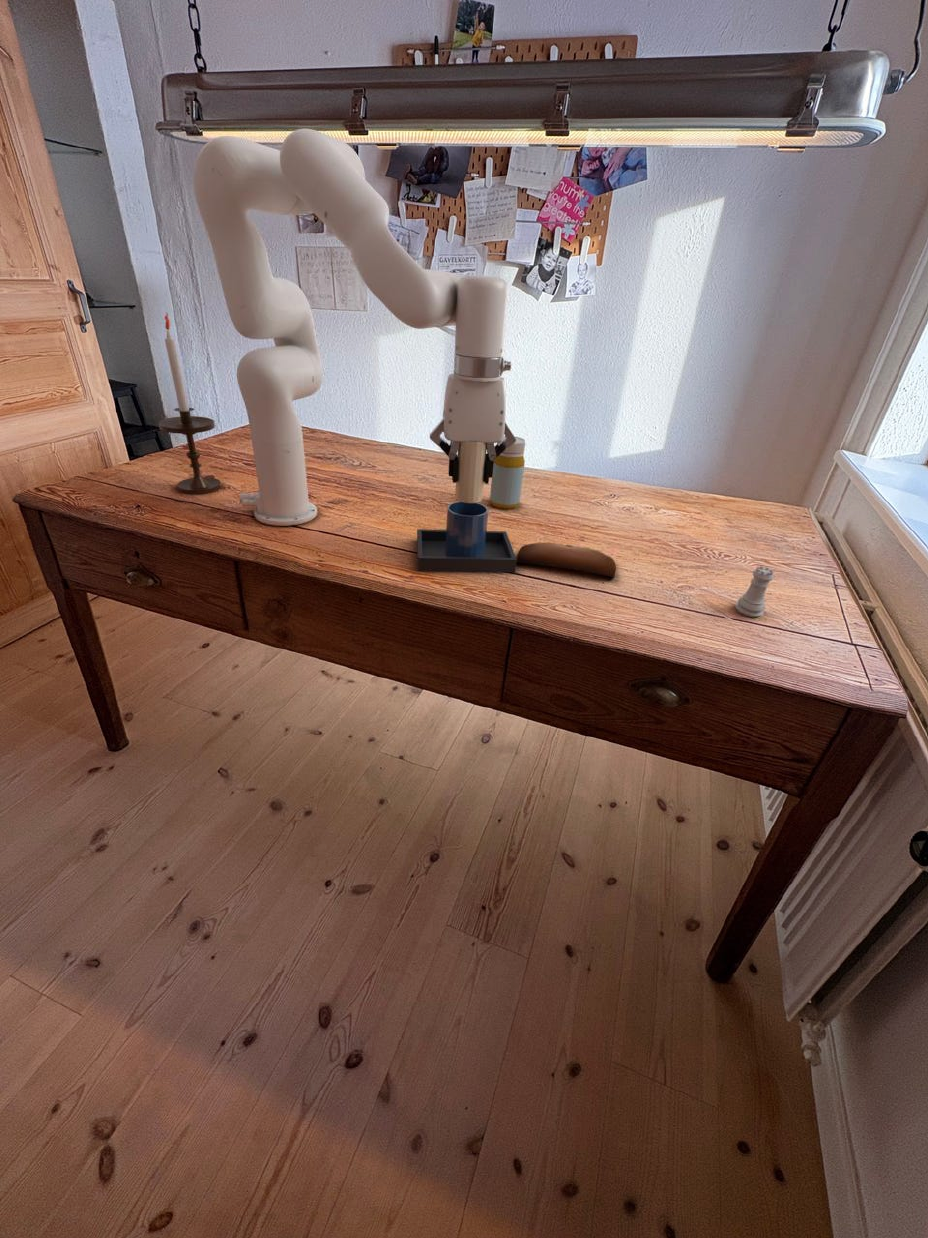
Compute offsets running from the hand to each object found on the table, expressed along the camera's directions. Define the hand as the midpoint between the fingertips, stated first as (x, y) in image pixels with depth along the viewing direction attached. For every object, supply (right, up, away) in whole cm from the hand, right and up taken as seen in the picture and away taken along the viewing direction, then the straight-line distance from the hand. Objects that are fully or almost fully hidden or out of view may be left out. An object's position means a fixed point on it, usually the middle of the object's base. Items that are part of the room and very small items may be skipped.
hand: (470, 479), depth 95 cm
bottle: (+8, +2, +33) cm, 34 cm away
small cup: (0, -3, +2) cm, 3 cm away
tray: (-1, -13, +8) cm, 15 cm away
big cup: (-1, -12, +8) cm, 14 cm away
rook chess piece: (+47, -23, -3) cm, 53 cm away
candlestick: (-62, +6, +30) cm, 68 cm away
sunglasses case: (+18, -14, +8) cm, 24 cm away
